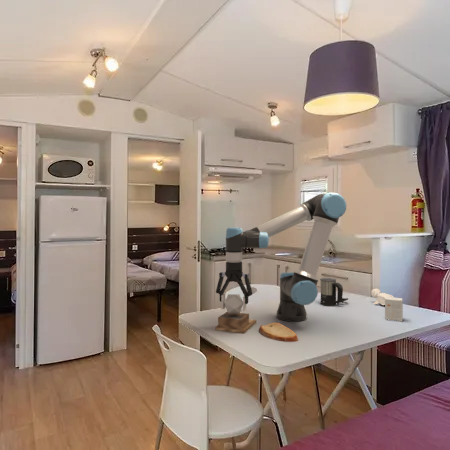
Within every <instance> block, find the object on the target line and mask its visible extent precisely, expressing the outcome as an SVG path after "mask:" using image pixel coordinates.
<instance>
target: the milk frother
mask: <svg viewBox="0 0 450 450" xmlns="http://www.w3.org/2000/svg"><path fill="white" fill-rule="evenodd" d="M319 280H320V303H319V304H320V305H321V306H323V307H324V306H326V307H335V306H337V304H340V303H341V302H342V303H344V302H346V301H348V300H349V298H348V297H345V298H344V297H343V295H344V294H343V293H344V292H343V291H344V288H343V285H342V284H341V283H340V282H337V279H336V278H331V277H325V278H320V279H319Z"/></svg>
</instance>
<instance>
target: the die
mask: <svg viewBox="0 0 450 450" xmlns="http://www.w3.org/2000/svg"><path fill="white" fill-rule="evenodd" d="M224 305H225V309H226V312H228V313H241V311H242V309H243V298H242V297H241V294H234V293H233V294H229V293H228V294H227V297H225V304H224Z"/></svg>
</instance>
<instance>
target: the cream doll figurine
mask: <svg viewBox="0 0 450 450" xmlns="http://www.w3.org/2000/svg"><path fill="white" fill-rule="evenodd" d="M370 295H371V297H373V298H376V300H375V301H374V302H373V305H374V304H377V305H378V304H380V305H382V306H384V305H385V297H392V298H395V296H393V294H388V293H385V292H382V291H381V290H380V289H379V288H373V289H372V290H371V291H370Z"/></svg>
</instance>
